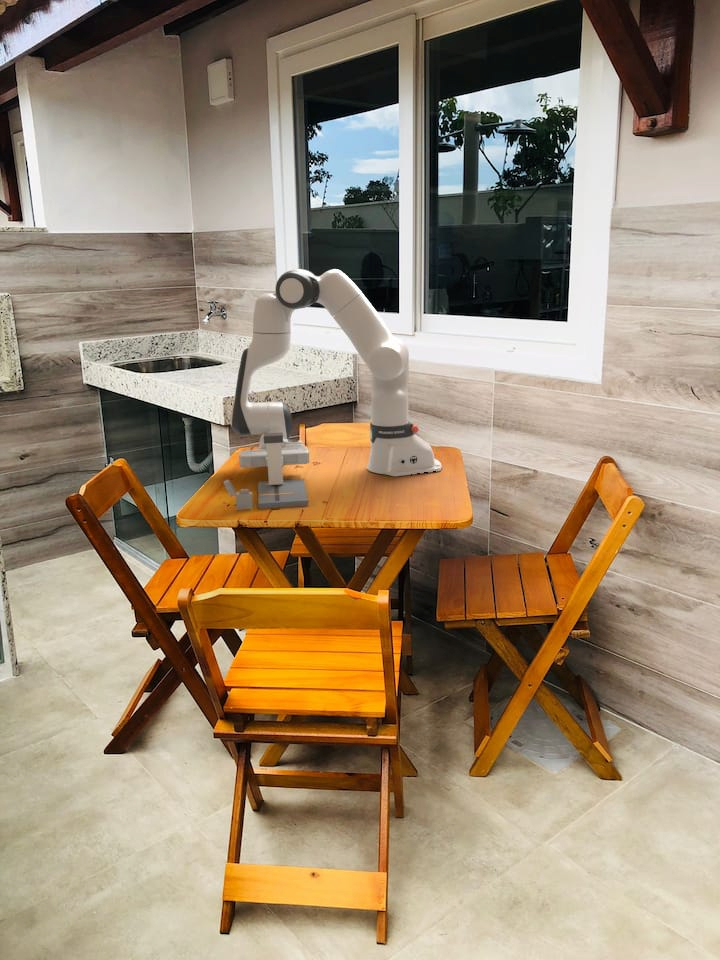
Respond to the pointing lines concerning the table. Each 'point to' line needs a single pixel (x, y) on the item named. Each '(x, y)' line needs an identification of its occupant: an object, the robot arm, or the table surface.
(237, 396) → the robot arm
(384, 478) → the table surface
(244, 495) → the lighter
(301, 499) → the console
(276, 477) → the grey post
